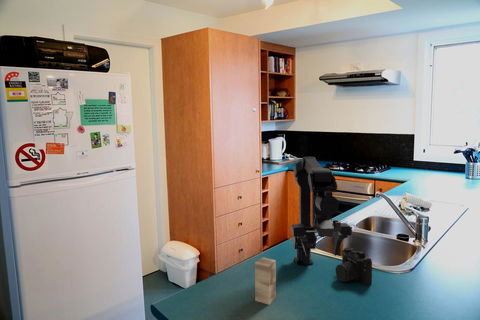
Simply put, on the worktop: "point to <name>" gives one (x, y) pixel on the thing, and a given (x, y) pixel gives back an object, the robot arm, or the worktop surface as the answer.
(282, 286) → the worktop surface
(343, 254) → the camera
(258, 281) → the maple block
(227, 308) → the worktop surface
